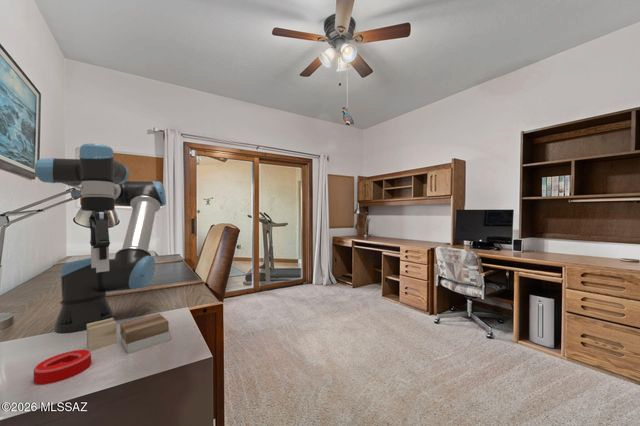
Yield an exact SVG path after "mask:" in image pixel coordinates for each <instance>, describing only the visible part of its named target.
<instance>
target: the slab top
mask: <svg viewBox="0 0 640 426" xmlns="http://www.w3.org/2000/svg"><path fill="white" fill-rule="evenodd" d="M169 327H170V326H169V320H167V318H165V317H164V316H163V315H162V314H160V313H156V314H153V315H149V316H144V317H140V318H138V319H137V318H136V319H133V320H129V321H125V322H121V323H119V329H120V331H119V332H120V337H121V336H122V338H123V339H124V341H125V343H126V344H129V343H133V342H136V341H139V340H142V339H146V338H149V337H152V336H156V335H159V334H162V333H165V332H169V331H170V328H169Z"/></svg>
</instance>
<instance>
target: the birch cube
mask: <svg viewBox="0 0 640 426" xmlns="http://www.w3.org/2000/svg"><path fill="white" fill-rule="evenodd" d="M86 340H87V341H86V345H87V348H88V349H87V350H88V351H90V352H91V351H94V350H97V349H101V348H104V347H108V346H110V345H114V344H118V342H117V322H116V320H115V319H114V317H113V318H110V319H106V320H101V321H97V322H93V323H89V324H87V329H86Z"/></svg>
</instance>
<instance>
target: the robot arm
mask: <svg viewBox="0 0 640 426" xmlns="http://www.w3.org/2000/svg"><path fill="white" fill-rule="evenodd" d="M78 157H79V159H78V158H55V157H52V158H51V157H50V158H40V159H37V161H36V162H35V165H34V173H35V176H36V178H37V179H38V180H39V181H40V182H43V183H48V184H49V183H50V184H51V183H52V184H55V183H57V184H63V185H65V186H69V187H72V188H74V189H77V190H80V195H81V196H83V197H81V198H80V209H81V210H82V211H84V212H92V214H90V216H89V218H88V222H89V230H90V241H89V244H90V257H88V258H83V259H78V260H72V261H70V262H66V263H64V264H63V265H62V266H61V272H60V273H61V274H60V283H61V285H60V286H61V308H60V310H59V313H58V316H57V318H56V321H55V323H54V331H55V332H56V333H59V334H63V333H64V334H65V333H74V332H79V331H84V330H85V331H86V330H87V324H89V323H93V322H97V321H101V320H106V319H110V318H113V319H114V316H113V314H114V313H113V310H112V308H111V306H110V304H109V302H108V300H107V292H109V293H110V292H116V291H125V290H136V289H140V288H142V289H143V288H146V287H148V286H149V285H150V284H151V282H152V281H153V279H154V276H155V270H156V269H155V267H156V260H155V257H154V256H152V254H151V252H150V251H149V249H150V243H151V237H152V234H153V233H152V232H153V228H154V227H153V225H154V222H155V217H156V216H155V215H156V213H157V212H158V211H159V210H160V208H161V207H162V206H165V205H166V204H167V199H166V192H165V188H164V185H163V183H162V182H161V181H159V180H158V181H156V180H155V181H154V180H149V181H148V180H146V181H145V180H143V181H142V180H141V181H139V180H138V181H137V180H136V181H135V180H133V181H132V180H131V181H129V178H130V171H129V169H128V167H127V166H125V165H124V164H123V163H122V162H119V161H117V160H116V159H114V158H115V155H114V149H113V148H112V147H111V146H109V145H105V144H101V143H93V142H92V143H91V142H90V143H89V142H88V143H84V144H81V146H80V149H79V156H78ZM115 206H120V207H121V206H123V207H131V208H132V212H131V215H130V218H129V223H128V226H127V229H126V233H125V238H124V241H123V244H122V248H121V249H119V250H118V251H117V252H116V253H115V256H114V258H110V247H109V246H110V245H111V241H110V233H109V223H108V222H109V217H108V212H110V211H114V210H115Z"/></svg>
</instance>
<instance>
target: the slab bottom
mask: <svg viewBox="0 0 640 426" xmlns="http://www.w3.org/2000/svg"><path fill="white" fill-rule="evenodd" d="M120 339H121V345H122V346H123V348H124V350H125V351H126V352H127V354H128V355H129V354H132V353H135V352H138V351H141V350H144V349H146V348H150V347H153V346H156V345H159V344H162V343H165V342H166V343H167V342H168V341H171V331H170V330H169V332H165V333H162V334H159V335H156V336H152V337H149V338H146V339H142V340H139V341H136V342H133V343H129V344H126V343H125V341H124V339H123V338H122V336H121V335H120Z"/></svg>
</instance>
